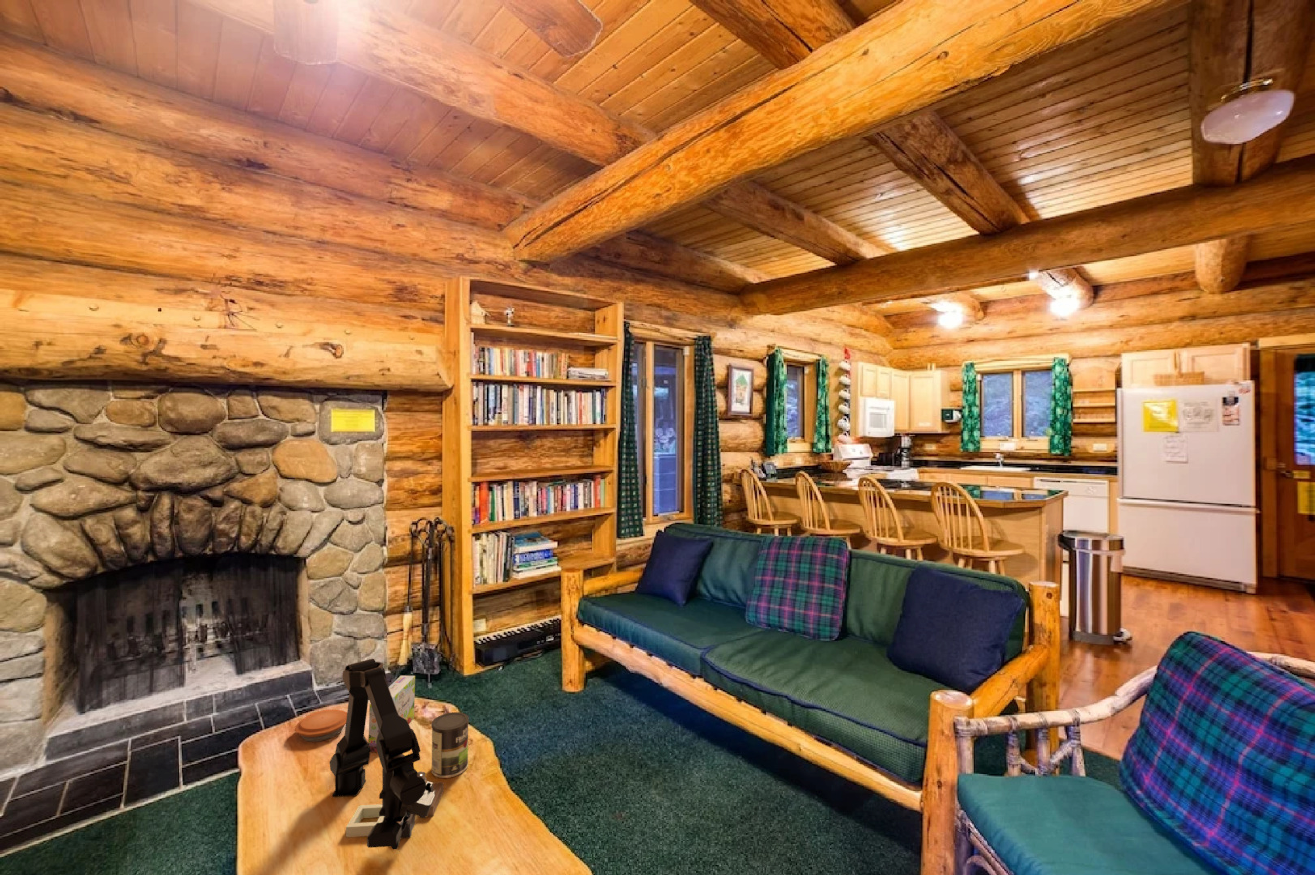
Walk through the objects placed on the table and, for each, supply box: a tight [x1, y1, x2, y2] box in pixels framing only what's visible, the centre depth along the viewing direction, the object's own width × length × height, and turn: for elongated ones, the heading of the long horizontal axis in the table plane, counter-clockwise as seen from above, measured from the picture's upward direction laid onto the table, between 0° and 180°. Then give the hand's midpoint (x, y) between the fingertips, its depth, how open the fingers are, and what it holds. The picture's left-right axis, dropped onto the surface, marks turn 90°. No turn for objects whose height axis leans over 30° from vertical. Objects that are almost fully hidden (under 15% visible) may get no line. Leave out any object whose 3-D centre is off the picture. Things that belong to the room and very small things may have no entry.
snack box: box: [368, 675, 416, 753], centre depth 186 cm, size 21×6×15 cm, turn 179°
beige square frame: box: [345, 803, 384, 838], centre depth 144 cm, size 8×8×2 cm
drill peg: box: [417, 771, 428, 783], centre depth 152 cm, size 4×4×8 cm
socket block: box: [427, 781, 445, 817], centre depth 152 cm, size 10×10×2 cm
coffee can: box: [431, 711, 470, 779], centre depth 168 cm, size 10×10×14 cm
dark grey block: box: [401, 814, 416, 839], centre depth 142 cm, size 3×5×4 cm, turn 6°
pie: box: [294, 709, 347, 743], centre depth 186 cm, size 15×16×5 cm
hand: (395, 848), depth 134 cm, fingers closed
